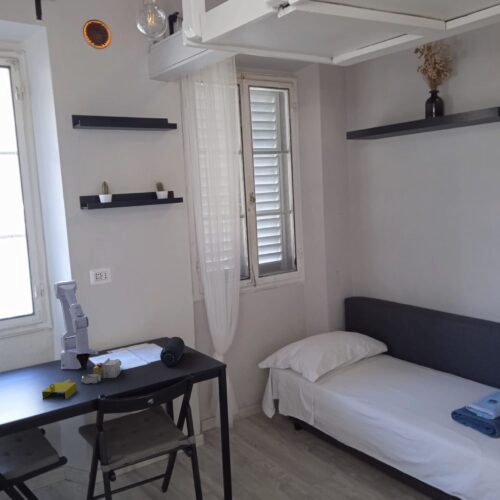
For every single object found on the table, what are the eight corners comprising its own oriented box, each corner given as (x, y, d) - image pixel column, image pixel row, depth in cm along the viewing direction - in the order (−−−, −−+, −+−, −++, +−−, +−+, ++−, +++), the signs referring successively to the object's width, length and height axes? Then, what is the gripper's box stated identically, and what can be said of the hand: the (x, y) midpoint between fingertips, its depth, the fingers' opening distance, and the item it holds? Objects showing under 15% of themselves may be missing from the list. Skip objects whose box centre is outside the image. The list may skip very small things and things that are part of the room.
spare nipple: (81, 384, 243) (80, 377, 242) (83, 381, 246) (83, 374, 246) (99, 383, 243) (99, 376, 242) (101, 380, 246) (101, 373, 246)
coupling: (102, 378, 249) (101, 364, 248) (113, 368, 262) (112, 355, 262) (115, 378, 248) (113, 364, 247) (124, 368, 262) (123, 354, 261)
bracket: (84, 371, 238) (69, 383, 223) (86, 388, 239) (70, 401, 224) (52, 371, 240) (35, 383, 225) (54, 388, 241) (36, 401, 226)
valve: (93, 377, 251) (93, 365, 250) (98, 373, 256) (97, 362, 255) (112, 376, 250) (111, 365, 249) (116, 373, 255) (115, 361, 254)
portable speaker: (167, 353, 284) (166, 335, 283) (186, 352, 284) (185, 334, 282) (159, 368, 259) (157, 349, 258) (179, 367, 259) (178, 348, 257)
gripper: (63, 343, 249) (66, 371, 251) (93, 343, 247) (95, 371, 249) (70, 339, 256) (72, 366, 257) (99, 339, 254) (101, 366, 256)
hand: (84, 368), depth 254 cm, fingers closed
